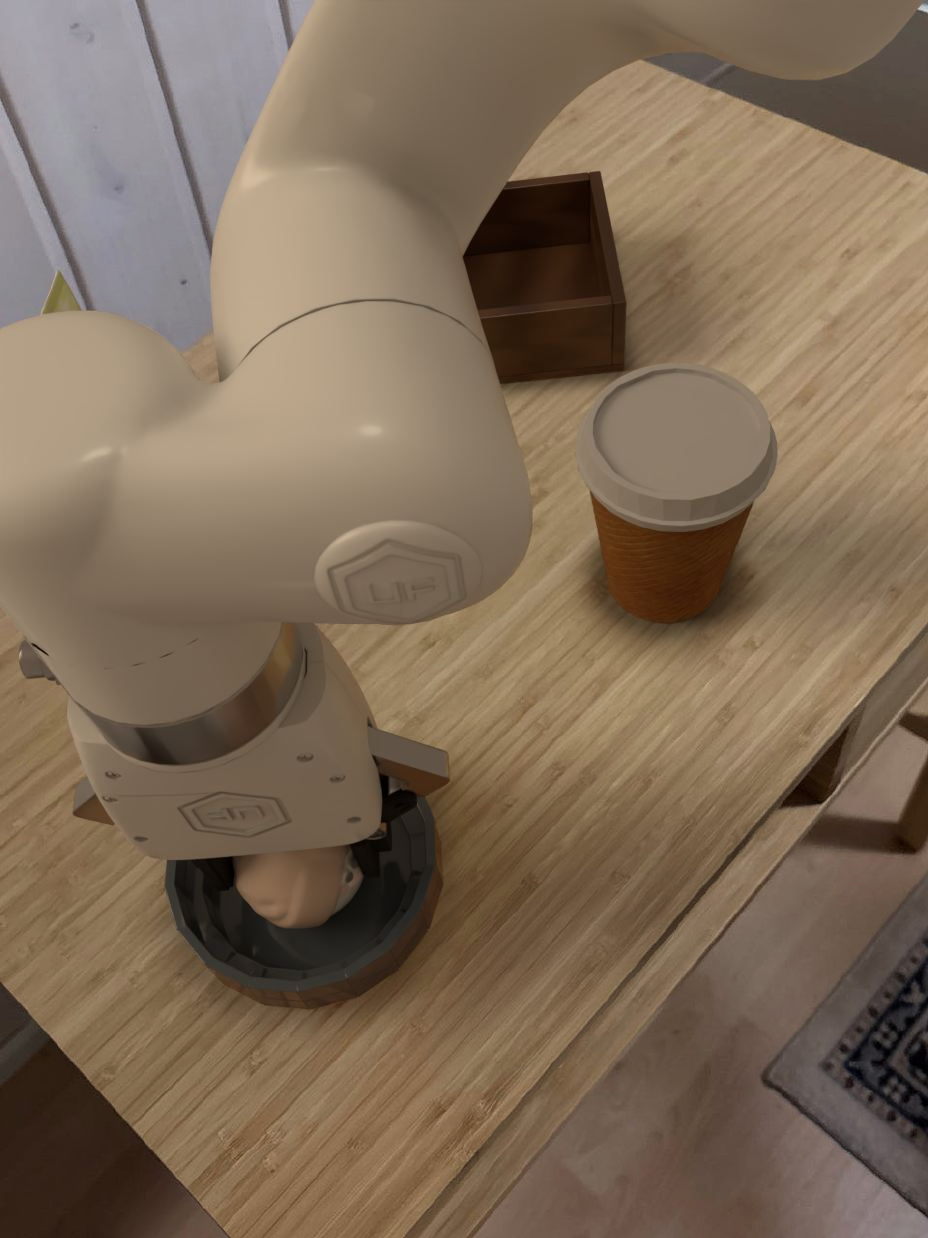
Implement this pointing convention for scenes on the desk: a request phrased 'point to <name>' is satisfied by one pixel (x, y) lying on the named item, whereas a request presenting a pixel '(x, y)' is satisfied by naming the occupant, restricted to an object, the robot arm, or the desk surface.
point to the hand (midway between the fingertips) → (299, 852)
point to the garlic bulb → (298, 884)
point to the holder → (549, 280)
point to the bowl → (327, 954)
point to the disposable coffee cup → (673, 482)
